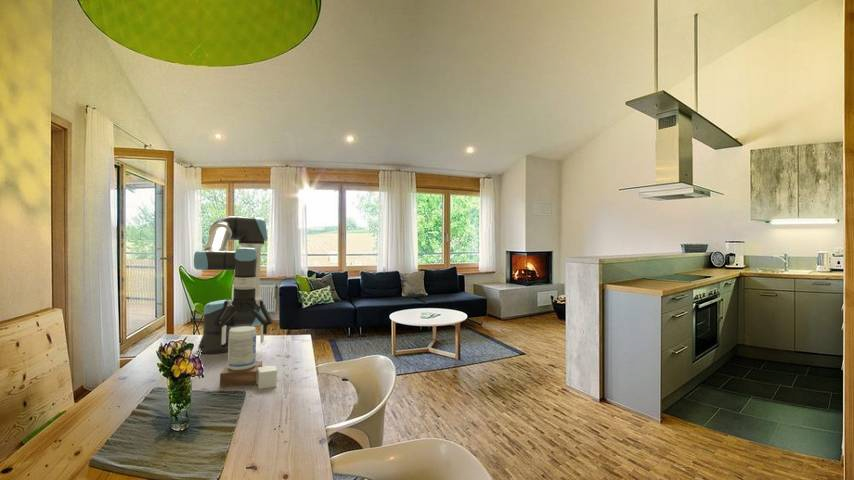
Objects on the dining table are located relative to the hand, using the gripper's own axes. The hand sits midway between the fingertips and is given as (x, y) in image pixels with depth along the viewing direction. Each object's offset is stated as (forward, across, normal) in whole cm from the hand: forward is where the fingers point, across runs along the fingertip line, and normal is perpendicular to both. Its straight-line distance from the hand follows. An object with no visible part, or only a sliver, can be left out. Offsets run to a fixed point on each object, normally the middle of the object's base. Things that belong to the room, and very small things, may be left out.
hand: (243, 343), depth 143 cm
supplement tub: (+9, 0, 0) cm, 9 cm away
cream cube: (+14, +10, -6) cm, 19 cm away
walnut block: (+14, 0, 0) cm, 14 cm away
